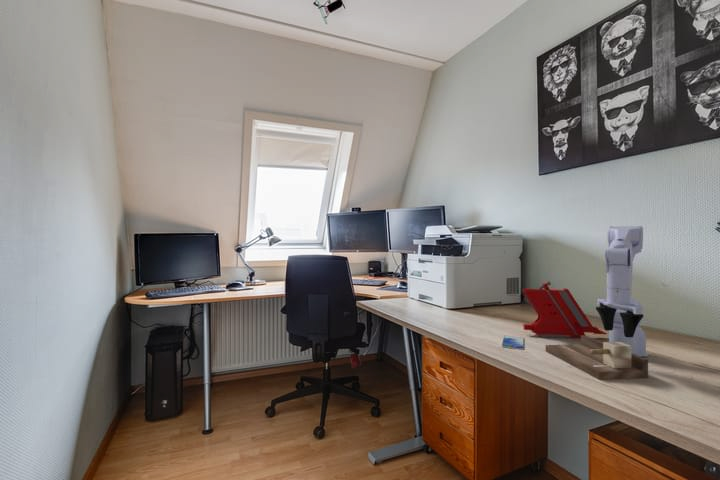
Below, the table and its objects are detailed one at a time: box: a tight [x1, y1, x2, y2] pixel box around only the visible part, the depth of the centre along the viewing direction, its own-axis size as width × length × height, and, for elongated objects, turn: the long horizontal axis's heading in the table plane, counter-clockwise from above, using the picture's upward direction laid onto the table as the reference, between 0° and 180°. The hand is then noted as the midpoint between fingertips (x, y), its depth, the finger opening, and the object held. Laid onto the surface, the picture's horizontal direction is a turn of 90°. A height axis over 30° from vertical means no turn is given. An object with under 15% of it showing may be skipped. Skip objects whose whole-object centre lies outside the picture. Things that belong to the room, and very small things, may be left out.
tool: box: [522, 281, 608, 339], centre depth 137 cm, size 27×6×27 cm, turn 86°
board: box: [545, 334, 649, 380], centre depth 107 cm, size 14×24×5 cm, turn 4°
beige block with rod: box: [590, 341, 631, 368], centre depth 98 cm, size 10×4×6 cm, turn 94°
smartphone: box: [501, 335, 525, 351], centre depth 128 cm, size 7×1×15 cm
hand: (618, 333), depth 105 cm, fingers open, 7 cm apart
